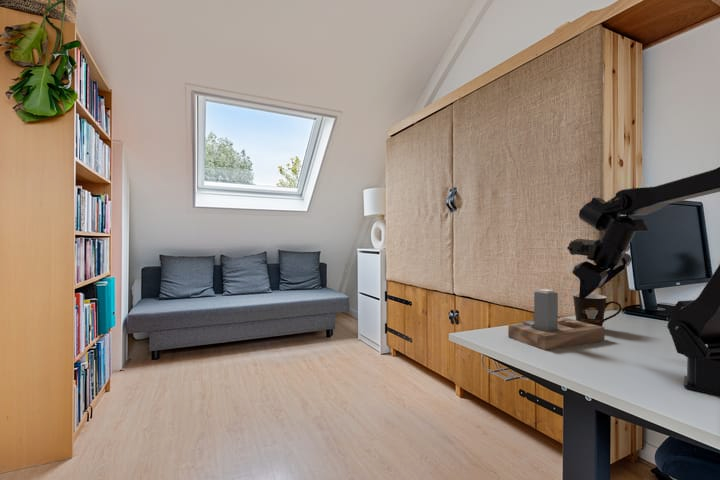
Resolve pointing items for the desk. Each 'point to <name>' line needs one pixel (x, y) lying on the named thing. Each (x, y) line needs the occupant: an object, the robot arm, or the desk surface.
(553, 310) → the plug
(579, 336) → the socket board
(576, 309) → the coffee mug
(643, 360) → the desk surface
